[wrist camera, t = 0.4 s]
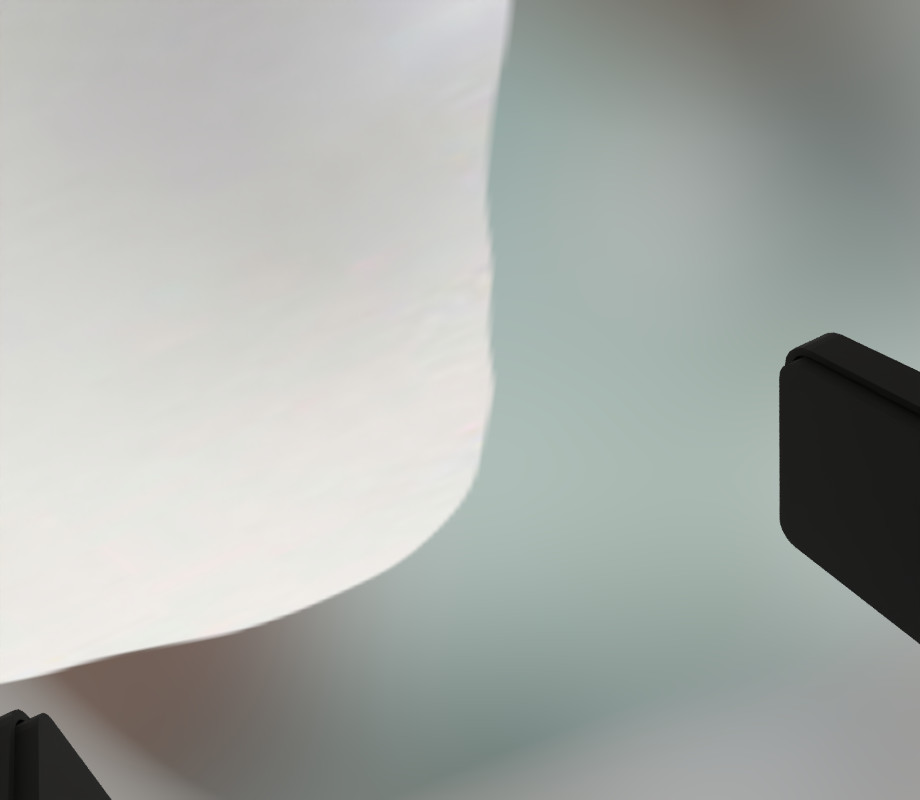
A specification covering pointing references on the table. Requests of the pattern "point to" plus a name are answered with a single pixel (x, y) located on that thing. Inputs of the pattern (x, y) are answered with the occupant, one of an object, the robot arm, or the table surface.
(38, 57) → the table surface
